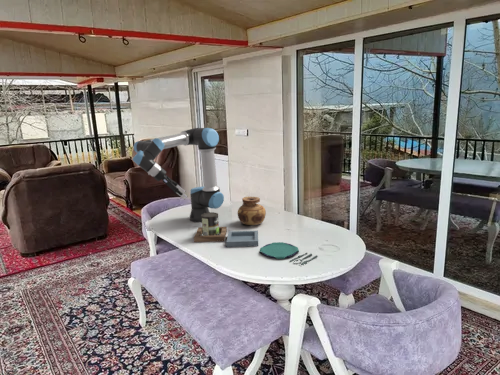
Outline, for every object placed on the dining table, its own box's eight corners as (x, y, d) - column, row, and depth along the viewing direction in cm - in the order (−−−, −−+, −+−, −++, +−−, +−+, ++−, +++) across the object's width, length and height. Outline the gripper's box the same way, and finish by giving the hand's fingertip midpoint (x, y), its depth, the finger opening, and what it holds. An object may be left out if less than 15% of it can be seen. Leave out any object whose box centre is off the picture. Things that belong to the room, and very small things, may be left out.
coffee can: (221, 233, 231) (220, 212, 228) (216, 239, 222) (215, 217, 219) (205, 233, 234) (204, 211, 231) (200, 239, 224) (198, 216, 221)
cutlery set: (277, 242, 214) (277, 239, 213) (320, 257, 193) (320, 253, 192) (253, 253, 200) (253, 249, 200) (296, 270, 179) (296, 266, 179)
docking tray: (228, 235, 227) (228, 231, 227) (258, 235, 227) (257, 230, 226) (226, 246, 210) (226, 241, 209) (258, 246, 209) (258, 241, 209)
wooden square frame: (198, 231, 237) (198, 227, 236) (226, 231, 236) (226, 226, 236) (194, 242, 219) (193, 237, 218) (224, 241, 219) (224, 236, 218)
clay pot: (274, 218, 248) (265, 194, 240) (254, 234, 240) (244, 209, 231) (256, 212, 263) (247, 189, 255) (237, 227, 255) (227, 203, 246)
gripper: (153, 173, 225) (179, 195, 231) (152, 181, 201) (182, 205, 208) (161, 164, 225) (187, 186, 231) (162, 170, 201) (191, 195, 208)
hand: (185, 195), depth 219 cm, fingers open, 13 cm apart
